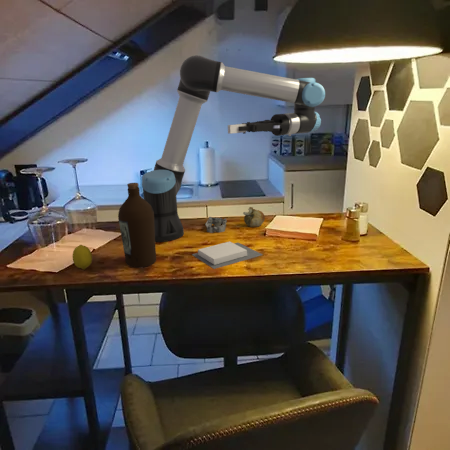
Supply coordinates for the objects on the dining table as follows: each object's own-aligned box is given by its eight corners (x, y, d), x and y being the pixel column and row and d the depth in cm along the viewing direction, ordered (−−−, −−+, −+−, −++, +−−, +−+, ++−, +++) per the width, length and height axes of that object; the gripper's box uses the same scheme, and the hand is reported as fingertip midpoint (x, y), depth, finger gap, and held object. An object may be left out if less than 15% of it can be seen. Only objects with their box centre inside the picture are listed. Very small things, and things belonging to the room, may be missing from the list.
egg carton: (224, 234, 151) (224, 223, 150) (204, 233, 152) (204, 223, 151) (228, 224, 161) (227, 215, 160) (209, 224, 162) (209, 214, 161)
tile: (229, 241, 135) (197, 249, 129) (247, 250, 127) (214, 259, 121) (229, 247, 135) (198, 255, 129) (247, 256, 127) (214, 265, 121)
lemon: (94, 271, 122) (90, 246, 120) (74, 274, 120) (70, 249, 118) (93, 264, 127) (89, 240, 124) (74, 267, 125) (70, 243, 123)
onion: (263, 230, 153) (263, 209, 150) (242, 229, 155) (241, 209, 152) (265, 224, 160) (265, 204, 157) (245, 223, 162) (245, 203, 159)
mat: (238, 244, 140) (238, 242, 139) (263, 256, 128) (262, 254, 128) (191, 256, 131) (191, 254, 130) (214, 270, 119) (214, 268, 119)
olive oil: (151, 252, 135) (144, 178, 127) (163, 263, 126) (156, 184, 118) (119, 260, 130) (110, 183, 122) (129, 271, 121) (120, 189, 113)
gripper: (295, 136, 143) (240, 142, 131) (272, 133, 153) (219, 139, 141) (296, 114, 140) (239, 118, 128) (272, 113, 151) (218, 117, 139)
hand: (229, 129), depth 135 cm, fingers closed
